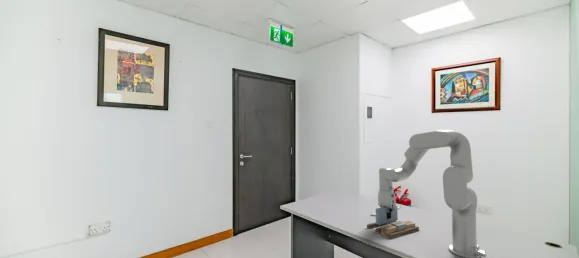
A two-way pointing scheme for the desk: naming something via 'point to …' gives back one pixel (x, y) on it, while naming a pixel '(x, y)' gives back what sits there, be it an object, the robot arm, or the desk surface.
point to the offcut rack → (394, 232)
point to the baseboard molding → (375, 211)
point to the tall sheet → (385, 215)
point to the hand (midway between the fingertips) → (386, 217)
